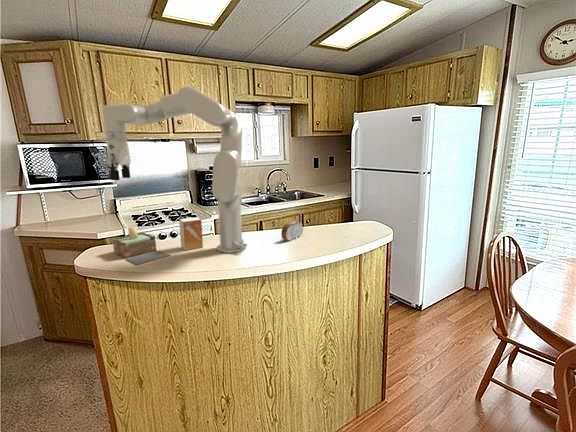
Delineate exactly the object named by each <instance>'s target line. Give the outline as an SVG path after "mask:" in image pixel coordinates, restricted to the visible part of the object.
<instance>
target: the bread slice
mask: <svg viewBox="0 0 576 432" xmlns="http://www.w3.org/2000/svg"><path fill="white" fill-rule="evenodd" d="M303 230H304V225H303V223H302V221H299V220H293V221H289V222H286V223H285V224H284V225H283V226H282V229H281V238H282V239H283V240H284V241H286V242H287V241H288V242H290V240H291V241H293V240H295V239H294V238H296V237H298V236H300V235H301V236H302V234H303ZM301 236H300V237H301ZM298 238H299V237H298ZM292 239H293V240H292ZM296 239H297V238H296Z"/></svg>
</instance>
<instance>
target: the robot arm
mask: <svg viewBox="0 0 576 432" xmlns="http://www.w3.org/2000/svg"><path fill="white" fill-rule="evenodd" d="M190 114H192V115H194V116H196V117H197V118H199V119H200V120H202V121H204V122H206V124H207V123H208V124H209V125H210V126H213V127H218V128H220V131H221V134H220V135H221V136H220V150H219V152H217V154H216V155H215V156H214V160H213V166H212V184H211V185H212V186H211V189H212V191H211V192H212V195H213V197H214V198H215V199H216V200H217V202H218V203H217V205H218V206H217V207H218V209H217V210H218V226H219V227H218V228H219V229H218V231H219V232H218V233H219V244H218V245H217V246H216V251H217V252H219V253H224V254H227V253H228V254H231V253H233V254H234V253H239V252H242V251H244V250H246V249H247V246H248V243H246V242H244V239H243V233H242V232H243V231H242V230H243V229H242V228H243V227H242V205H241V204H242V186H241V183H240V182H239V180H238V171H239V170H240V168H241V166H242V149H243V148H242V147H243V146H242V145H243V127H242V123H241V120H240V118H239V117H238V116H237V114H235V112H233V111H232V110H231V109H229V108H228V107H226V106H225V105H223V104H221V103H219V102H217V101H216V100H214V99H213V98H211V97H210V96H208V95H206V94H204V93H203V92H201V90H199V89H197V88H196V87H194V86H191V85H190V86H188V85H186V86H184V87H181V88H180V89H179V90H178V92H175V93H170V94H165V95H163V96H161V97H160V99H159V100H158V101H157V102H154V103H151V104H146V105H141V106H139V105H136V104H131V103H124V104H106V105H103V106H102V115H103V123H104V131H105V132H104V133H105V140H106V142H107V143H106V144H107V145H106V148H107V149H106V150H107V152H106V153H107V159H106V162H107V167H108V170H109V173H110V180H111V181H120V171H119V165H120V167H121V178H122V179H130V178H131V172H130V168H131V167H130V164H131V162H132V161H131V156H130V155H131V153H130V149H129V145H128V139H127V138H128V137H127V128H126V124H130V125H136V126H145V125H150V124H151V125H152V124H155V123H158V122H163V121H165V120H168V119H171V118H177V117H179V116H185V115H190Z"/></svg>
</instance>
